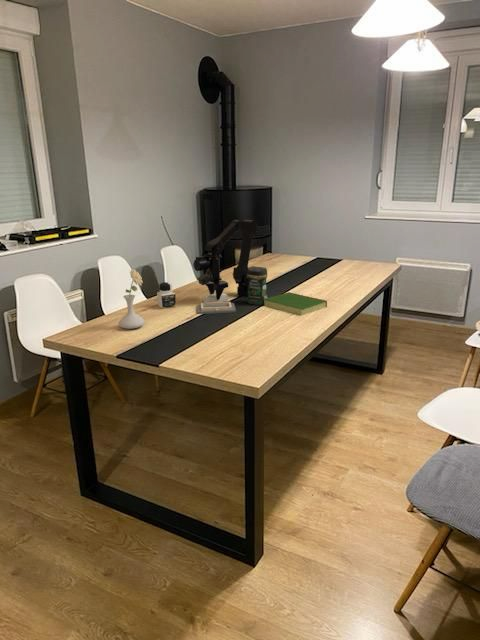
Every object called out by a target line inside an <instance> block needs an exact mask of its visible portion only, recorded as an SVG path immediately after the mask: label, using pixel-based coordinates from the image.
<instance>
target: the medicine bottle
mask: <svg viewBox="0 0 480 640" xmlns="http://www.w3.org/2000/svg"><path fill="white" fill-rule="evenodd" d="M156 296H157V306H158V307H159V308H160V309H162V310H167V309H173V308H177V297H176V293H175V292H173V284H172V283H171V282H169V281H166V282H161V283H159V291H157V293H156Z"/></svg>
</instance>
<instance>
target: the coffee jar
mask: <svg viewBox="0 0 480 640" xmlns="http://www.w3.org/2000/svg"><path fill="white" fill-rule="evenodd" d="M247 276H248V280H249V288H248V297H247V303H248V304H250V305H254V306H264V299H267V298H268V293H267V292H268V291H267V280H268V279H267V278H268V269H267V267H262V266H256V265H255V266H253V265H252V266H248V273H247Z"/></svg>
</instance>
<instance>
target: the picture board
mask: <svg viewBox="0 0 480 640" xmlns="http://www.w3.org/2000/svg"><path fill="white" fill-rule="evenodd" d="M196 306H197V315H204V314H205V315H206V314H208V315H209V314H227V313H237V311H236V310H237V309H236V306H235V303H234V302H231V301H223V302H211V303H204V302H200V304H197V305H196Z"/></svg>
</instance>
